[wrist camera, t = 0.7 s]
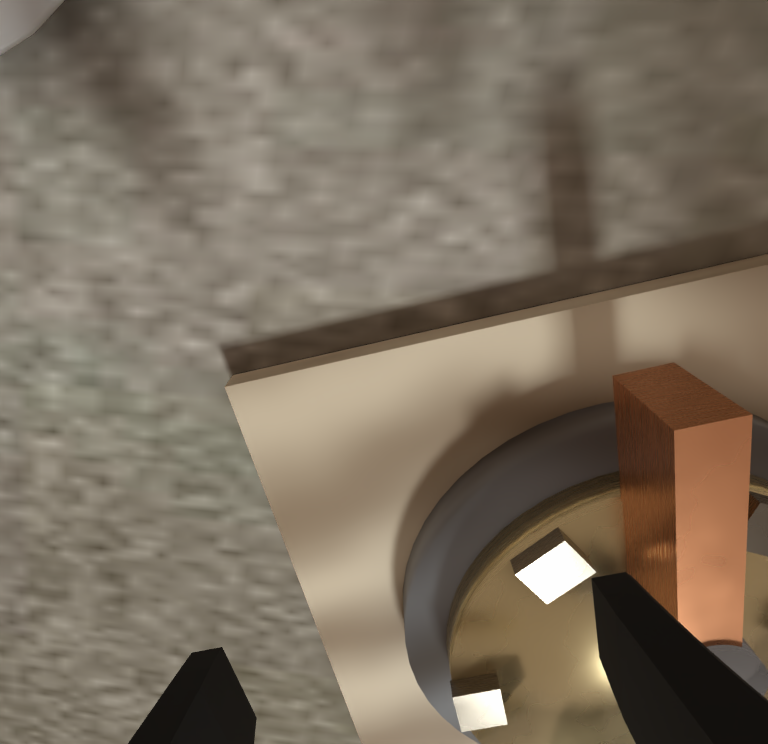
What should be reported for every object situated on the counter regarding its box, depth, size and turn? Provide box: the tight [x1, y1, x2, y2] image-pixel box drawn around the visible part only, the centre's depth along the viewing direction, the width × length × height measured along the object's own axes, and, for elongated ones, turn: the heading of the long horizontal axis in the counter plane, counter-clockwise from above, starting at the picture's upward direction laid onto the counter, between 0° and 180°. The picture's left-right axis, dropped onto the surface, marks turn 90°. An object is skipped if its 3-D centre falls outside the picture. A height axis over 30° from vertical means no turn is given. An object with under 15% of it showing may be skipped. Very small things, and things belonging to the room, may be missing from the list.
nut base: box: [225, 254, 768, 744], centre depth 20 cm, size 24×24×2 cm
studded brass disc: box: [446, 362, 768, 744], centre depth 16 cm, size 18×14×4 cm
